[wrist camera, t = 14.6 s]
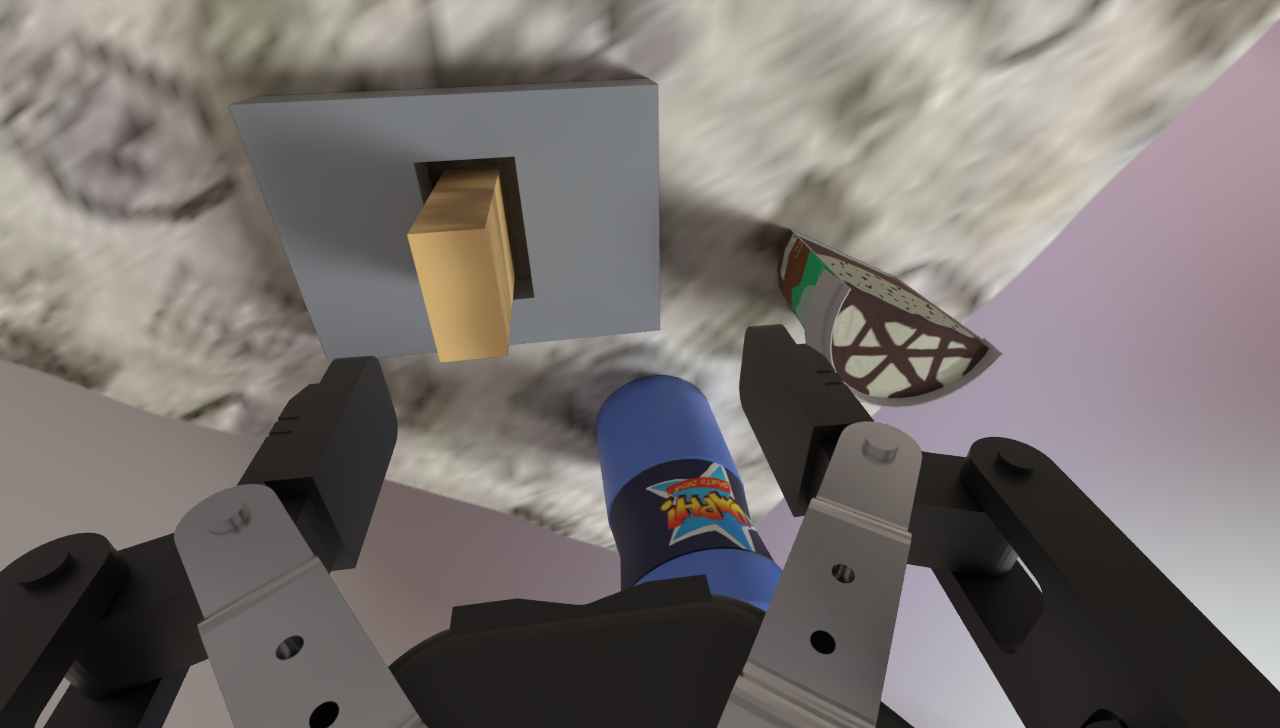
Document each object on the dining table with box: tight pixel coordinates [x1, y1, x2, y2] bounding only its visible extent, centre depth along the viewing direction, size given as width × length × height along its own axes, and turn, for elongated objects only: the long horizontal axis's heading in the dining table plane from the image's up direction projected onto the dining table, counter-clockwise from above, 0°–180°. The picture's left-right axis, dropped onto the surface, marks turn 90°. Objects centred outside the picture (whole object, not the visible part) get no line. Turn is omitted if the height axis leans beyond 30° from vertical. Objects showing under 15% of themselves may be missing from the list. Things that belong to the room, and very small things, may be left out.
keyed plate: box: [228, 78, 660, 363], centre depth 32 cm, size 14×20×3 cm
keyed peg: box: [407, 165, 516, 362], centre depth 28 cm, size 3×6×11 cm, turn 1°
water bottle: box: [596, 376, 783, 612], centre depth 33 cm, size 9×9×25 cm
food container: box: [777, 229, 1003, 408], centre depth 35 cm, size 12×6×10 cm, turn 65°
